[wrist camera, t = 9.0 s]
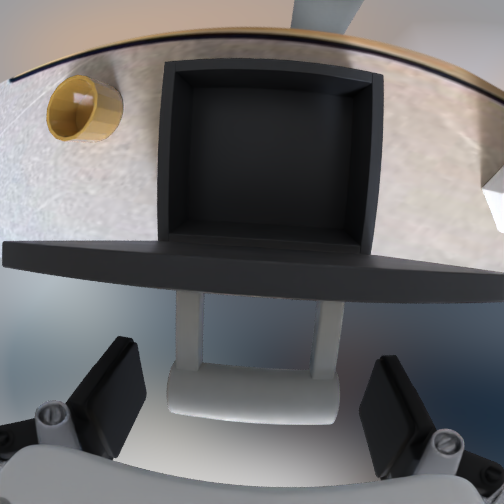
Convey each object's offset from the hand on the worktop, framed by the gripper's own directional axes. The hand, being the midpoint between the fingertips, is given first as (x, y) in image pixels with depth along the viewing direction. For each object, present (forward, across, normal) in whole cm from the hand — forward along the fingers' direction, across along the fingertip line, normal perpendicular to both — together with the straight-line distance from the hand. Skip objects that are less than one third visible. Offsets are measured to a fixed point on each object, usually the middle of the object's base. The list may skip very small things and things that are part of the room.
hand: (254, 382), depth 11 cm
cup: (+18, +17, -13) cm, 28 cm away
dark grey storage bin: (+18, 0, -8) cm, 20 cm away
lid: (+4, 0, -4) cm, 6 cm away
